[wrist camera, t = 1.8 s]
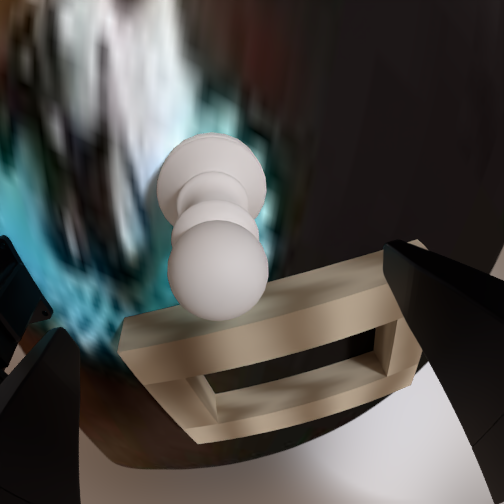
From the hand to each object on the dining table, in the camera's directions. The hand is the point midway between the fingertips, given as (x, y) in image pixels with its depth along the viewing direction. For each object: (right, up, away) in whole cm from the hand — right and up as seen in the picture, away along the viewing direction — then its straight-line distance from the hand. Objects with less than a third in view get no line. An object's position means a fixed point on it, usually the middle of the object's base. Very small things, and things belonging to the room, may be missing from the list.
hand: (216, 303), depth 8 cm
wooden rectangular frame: (+4, -6, +15) cm, 17 cm away
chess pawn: (-1, +5, +8) cm, 9 cm away
